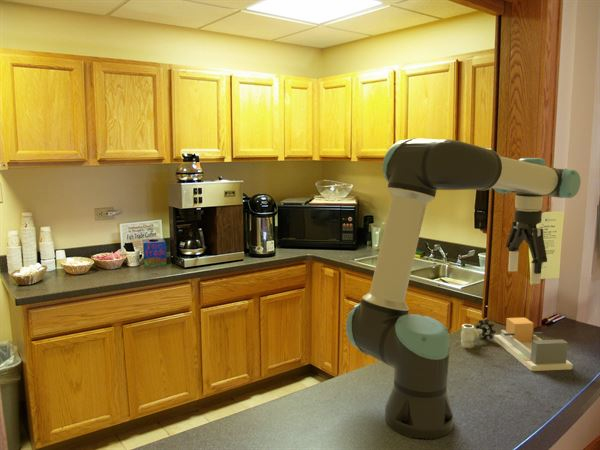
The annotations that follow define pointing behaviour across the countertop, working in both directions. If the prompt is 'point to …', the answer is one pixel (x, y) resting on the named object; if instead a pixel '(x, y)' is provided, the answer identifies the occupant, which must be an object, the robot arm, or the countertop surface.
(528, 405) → the countertop surface
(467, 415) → the countertop surface
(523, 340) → the orange block
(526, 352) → the cream and grey fixture
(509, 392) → the countertop surface
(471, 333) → the valve
